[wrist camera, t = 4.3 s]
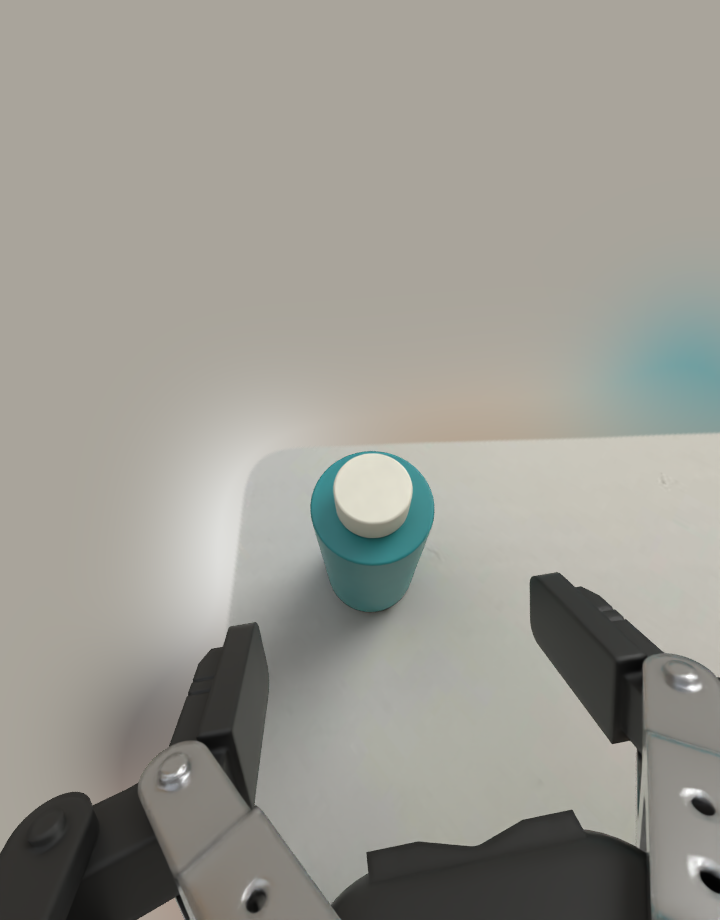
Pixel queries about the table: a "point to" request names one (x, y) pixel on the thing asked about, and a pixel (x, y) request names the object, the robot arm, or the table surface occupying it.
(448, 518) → the table surface
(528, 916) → the robot arm
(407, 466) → the water bottle
